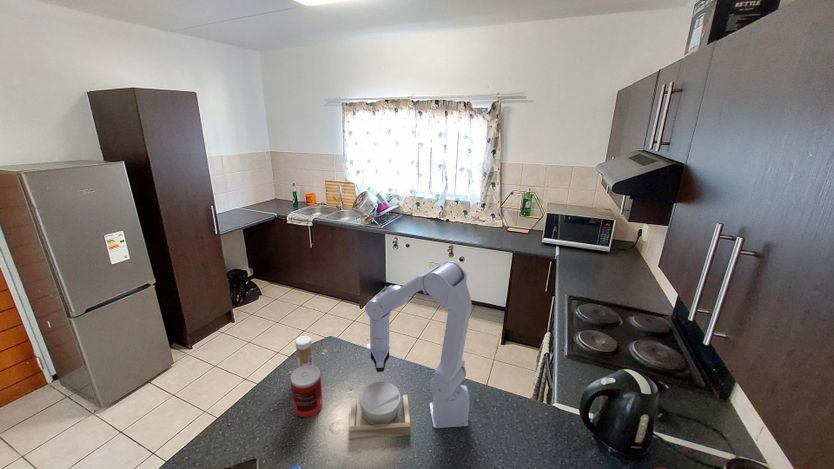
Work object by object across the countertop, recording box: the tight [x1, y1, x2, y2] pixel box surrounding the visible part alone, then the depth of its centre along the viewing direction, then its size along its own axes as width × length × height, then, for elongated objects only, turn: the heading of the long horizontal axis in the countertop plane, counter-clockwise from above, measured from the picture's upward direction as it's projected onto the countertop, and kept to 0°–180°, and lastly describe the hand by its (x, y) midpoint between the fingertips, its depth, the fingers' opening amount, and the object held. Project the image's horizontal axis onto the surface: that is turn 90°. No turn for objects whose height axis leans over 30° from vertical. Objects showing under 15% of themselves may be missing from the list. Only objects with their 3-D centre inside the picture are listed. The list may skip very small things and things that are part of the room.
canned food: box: [290, 364, 323, 418], centre depth 88 cm, size 8×8×11 cm
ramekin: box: [359, 381, 401, 425], centre depth 88 cm, size 11×11×5 cm
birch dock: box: [348, 394, 411, 441], centre depth 86 cm, size 10×15×3 cm, turn 96°
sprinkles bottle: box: [294, 335, 314, 368], centre depth 99 cm, size 5×5×13 cm
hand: (380, 370), depth 100 cm, fingers closed
